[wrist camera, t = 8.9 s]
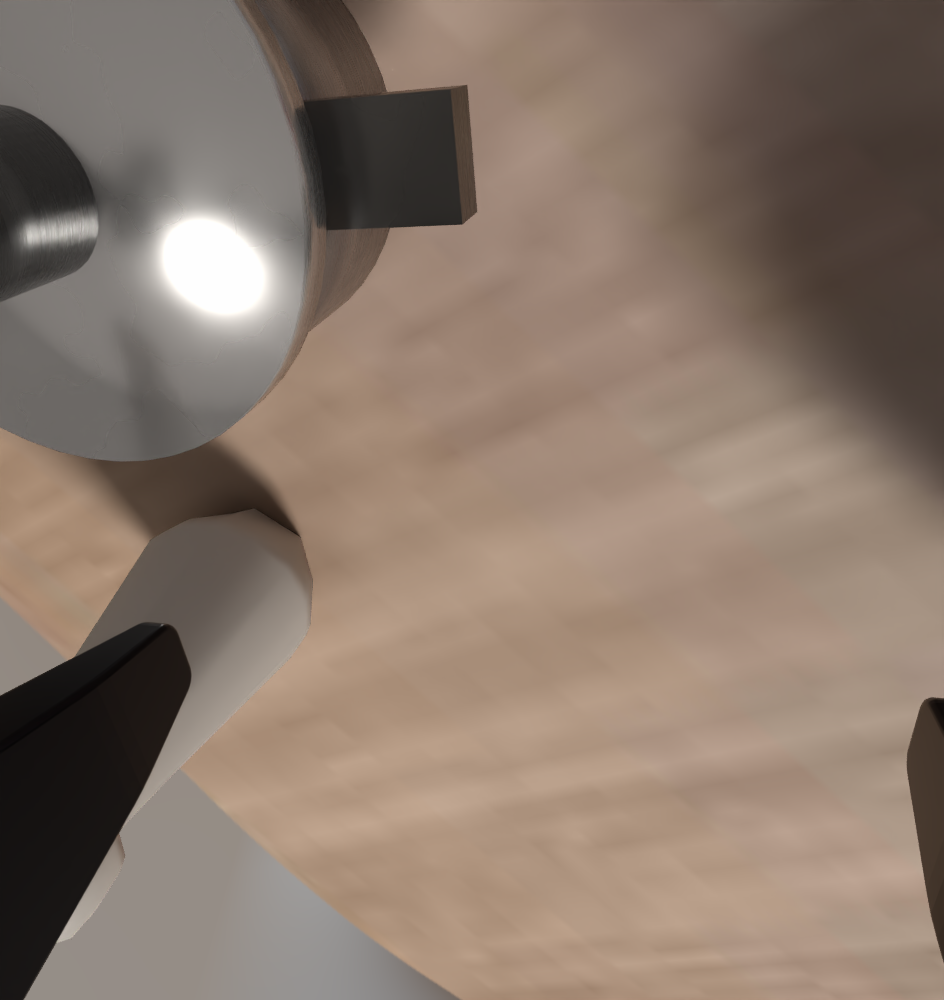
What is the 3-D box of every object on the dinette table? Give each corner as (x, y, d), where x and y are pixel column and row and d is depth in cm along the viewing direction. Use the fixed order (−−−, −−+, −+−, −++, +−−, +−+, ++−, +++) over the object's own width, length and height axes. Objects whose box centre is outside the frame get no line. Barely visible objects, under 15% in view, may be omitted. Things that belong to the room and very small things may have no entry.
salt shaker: (153, 502, 27) (-208, 821, 16) (288, 469, 25) (-20, 810, 14) (231, 631, 29) (-34, 983, 18) (361, 611, 27) (147, 995, 16)
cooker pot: (498, -146, 16) (410, -230, 11) (524, 334, 21) (472, 431, 16) (-116, -46, 19) (-393, -73, 14) (32, 338, 24) (-136, 417, 19)
